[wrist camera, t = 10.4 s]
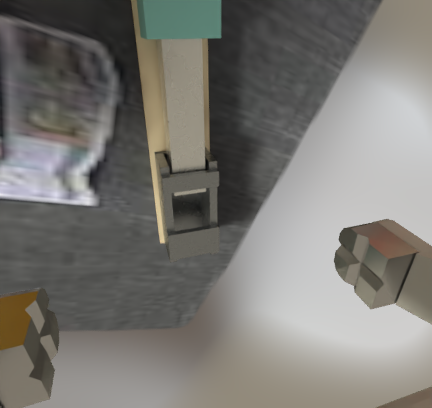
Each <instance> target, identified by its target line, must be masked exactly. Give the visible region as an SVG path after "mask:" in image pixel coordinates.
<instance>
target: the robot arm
mask: <svg viewBox="0 0 432 408" xmlns="http://www.w3.org/2000/svg"><path fill="white" fill-rule="evenodd" d="M339 241H340V243H341V246H340V247H339V248H338V250H337V251H336V253H335V258H334V263H335V267H336V270H337V272H338V274H339V276H340V277H341V278H342V279H343V280H344V281H345V282H347V283H349V284H351V285H353V286H354V289H355V293H356V294H357V295H358V296H359V297H360V298H361V299H362V301H364V303H365V304H366V305H367V306H368V307H369V308H370V309H374V308H378V307H382V306H386V305H390V304H394V303H396V305H398V306H399V307H401V308H403V309H405V310H407V311H408V312H410V313H412V314H414V315H416V316H418V317H419V318H421V319H423V320H425V321H427V322H428V323H430V324H432V246H431V245H429V244H427V243H426V242H425V241H423V240H422V239H420V238H419V237H417V236H416V235H414V234H413V233H411V232H410V231H408V230H407V229H405V228H404V227H402V226H401V225H399V224H398V223H396V222H395V221H393V220H389V219H385V220H380V221H376V222H372V223H368V224H363V225H359V226H353V227H348V228H344V229H343V230H342V231H341V233H340V236H339ZM48 303H49V298H48V295H47V293H46V291H45V289H43V288H36V289H30V290H25V291H19V292H13V293H8V294H2V295H0V408H22V407H25V406H29V405H32V404H35V403H38V402H42V401H45V400H48V399H50V396H51V389H52V384H53V378H54V371H55V370H54V367H53V365H52V363H51V360H52V359H53V357H54V356H55V355H56V354H57V353H58V346H59V327H58V322H57V318H56V316H55V313H54V312H52V311H50V310H48V309H47V308H48ZM376 408H432V387H429V388H427V389H424V390H421V391H418V392H416V393H413V394H410V395H408V396H405V397H403V398H400V399H397V400H395V401H392V402H389V403H387V404H384V405H381V406H379V407H376Z"/></svg>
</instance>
